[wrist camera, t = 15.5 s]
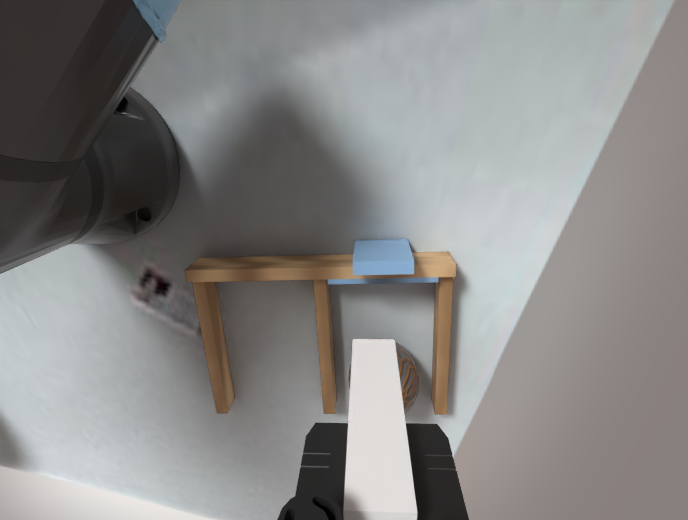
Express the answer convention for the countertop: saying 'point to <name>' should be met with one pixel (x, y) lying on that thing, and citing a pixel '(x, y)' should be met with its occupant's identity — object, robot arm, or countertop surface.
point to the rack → (322, 273)
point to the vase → (405, 377)
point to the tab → (382, 257)
